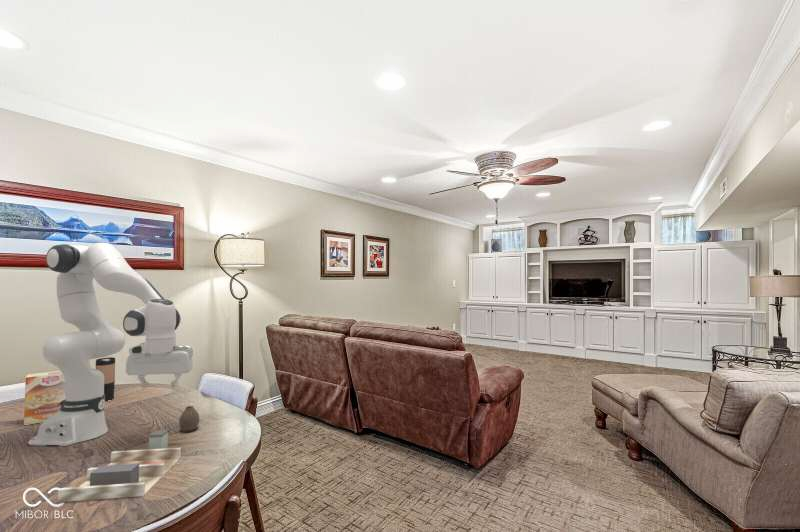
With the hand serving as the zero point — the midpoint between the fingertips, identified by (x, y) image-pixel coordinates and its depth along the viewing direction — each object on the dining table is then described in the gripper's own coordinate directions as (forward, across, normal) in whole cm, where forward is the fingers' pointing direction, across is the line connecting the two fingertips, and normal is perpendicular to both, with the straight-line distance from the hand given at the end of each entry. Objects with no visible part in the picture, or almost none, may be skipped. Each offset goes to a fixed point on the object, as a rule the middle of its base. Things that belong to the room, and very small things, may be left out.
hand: (159, 387), depth 128 cm
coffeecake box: (+21, +60, -37) cm, 74 cm away
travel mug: (+21, +54, -62) cm, 85 cm away
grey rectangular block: (+21, 0, 0) cm, 21 cm away
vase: (+21, -3, -17) cm, 27 cm away
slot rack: (+21, -1, +20) cm, 29 cm away
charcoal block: (+20, -1, +25) cm, 32 cm away
